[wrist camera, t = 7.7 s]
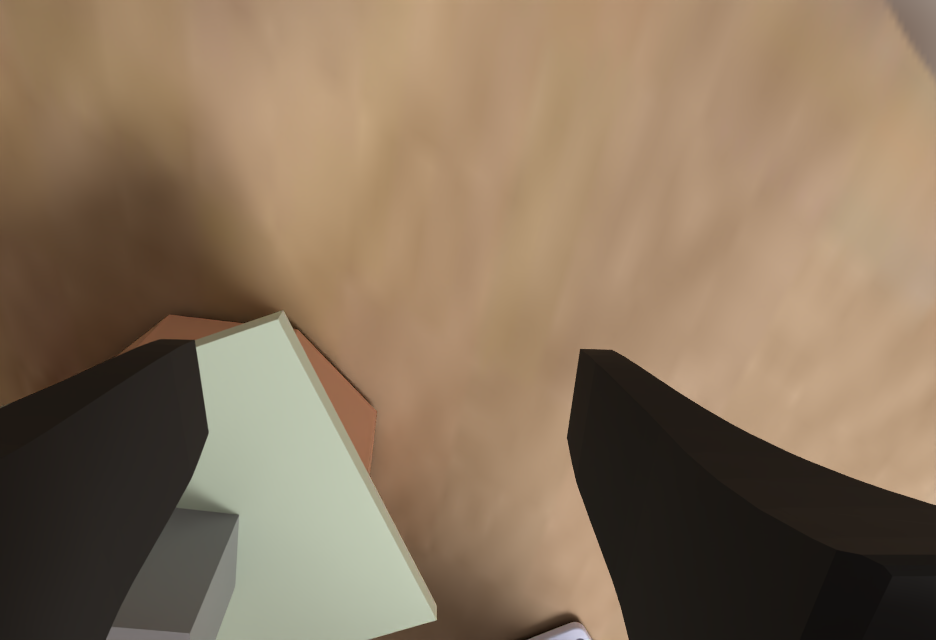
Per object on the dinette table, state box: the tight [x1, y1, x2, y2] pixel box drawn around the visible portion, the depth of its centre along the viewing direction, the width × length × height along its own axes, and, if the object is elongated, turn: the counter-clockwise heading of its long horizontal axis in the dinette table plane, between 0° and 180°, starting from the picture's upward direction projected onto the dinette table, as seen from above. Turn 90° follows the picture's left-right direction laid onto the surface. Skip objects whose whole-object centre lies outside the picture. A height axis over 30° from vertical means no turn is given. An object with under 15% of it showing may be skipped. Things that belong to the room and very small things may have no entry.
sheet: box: [0, 310, 437, 640], centre depth 17 cm, size 12×12×5 cm
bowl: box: [117, 315, 377, 476], centre depth 21 cm, size 11×11×5 cm
